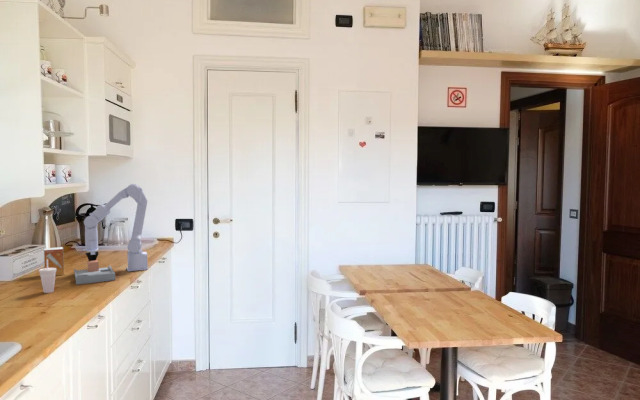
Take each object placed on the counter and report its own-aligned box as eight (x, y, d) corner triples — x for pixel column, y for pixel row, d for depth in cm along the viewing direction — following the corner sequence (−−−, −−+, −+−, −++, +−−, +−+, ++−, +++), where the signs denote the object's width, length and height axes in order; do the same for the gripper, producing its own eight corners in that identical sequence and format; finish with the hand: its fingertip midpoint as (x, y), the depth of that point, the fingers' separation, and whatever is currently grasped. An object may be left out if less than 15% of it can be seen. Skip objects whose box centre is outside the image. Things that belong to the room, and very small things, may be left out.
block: (97, 268, 220) (97, 260, 220) (98, 270, 216) (98, 261, 216) (87, 270, 218) (87, 261, 218) (88, 271, 214) (88, 262, 214)
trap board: (110, 270, 225) (110, 264, 225) (115, 280, 206) (115, 273, 206) (74, 274, 217) (74, 267, 216) (76, 284, 198) (76, 277, 197)
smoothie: (38, 294, 182) (37, 261, 181) (40, 290, 188) (39, 258, 187) (57, 292, 185) (55, 259, 184) (57, 289, 191) (56, 257, 190)
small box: (44, 277, 212) (43, 250, 211) (44, 274, 217) (43, 248, 216) (64, 274, 216) (63, 248, 215) (63, 272, 221) (62, 246, 220)
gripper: (81, 238, 224) (82, 264, 225) (83, 242, 212) (84, 270, 213) (97, 237, 228) (98, 263, 229) (99, 241, 216) (100, 268, 216)
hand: (92, 266), depth 221 cm, fingers closed
